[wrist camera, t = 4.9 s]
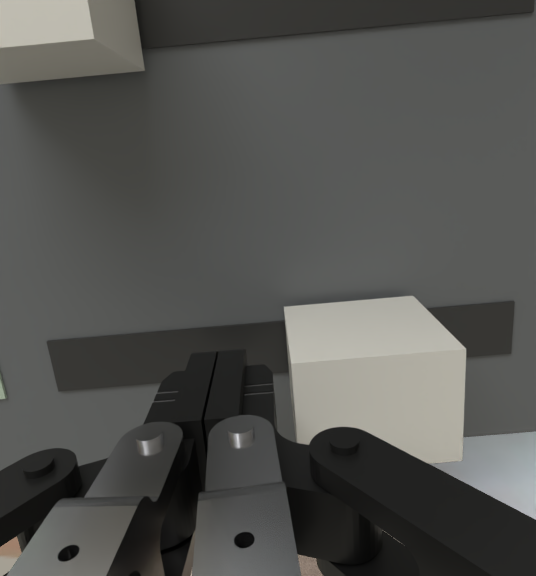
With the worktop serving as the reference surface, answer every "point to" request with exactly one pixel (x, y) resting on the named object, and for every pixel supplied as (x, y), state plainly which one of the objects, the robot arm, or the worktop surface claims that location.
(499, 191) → the breaker panel
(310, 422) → the block
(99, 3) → the handle
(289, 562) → the robot arm
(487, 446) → the worktop surface
